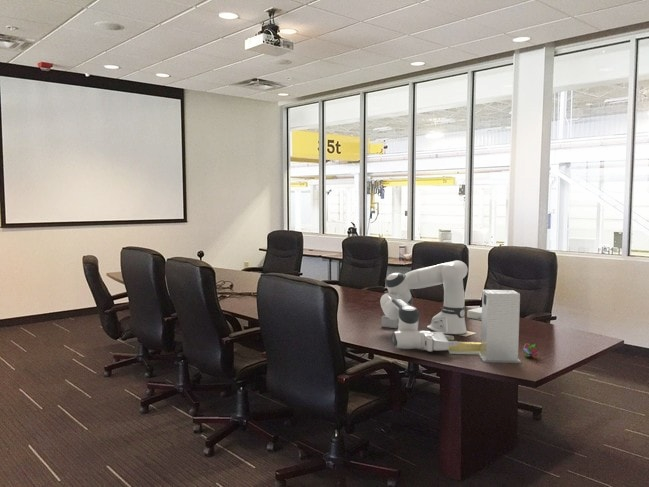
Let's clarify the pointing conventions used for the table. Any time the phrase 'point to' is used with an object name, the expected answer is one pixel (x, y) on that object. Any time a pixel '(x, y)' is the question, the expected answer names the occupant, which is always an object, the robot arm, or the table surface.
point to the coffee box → (389, 322)
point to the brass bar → (466, 346)
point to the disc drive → (475, 313)
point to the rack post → (500, 326)
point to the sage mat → (464, 352)
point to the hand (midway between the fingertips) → (455, 340)
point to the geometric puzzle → (530, 350)
